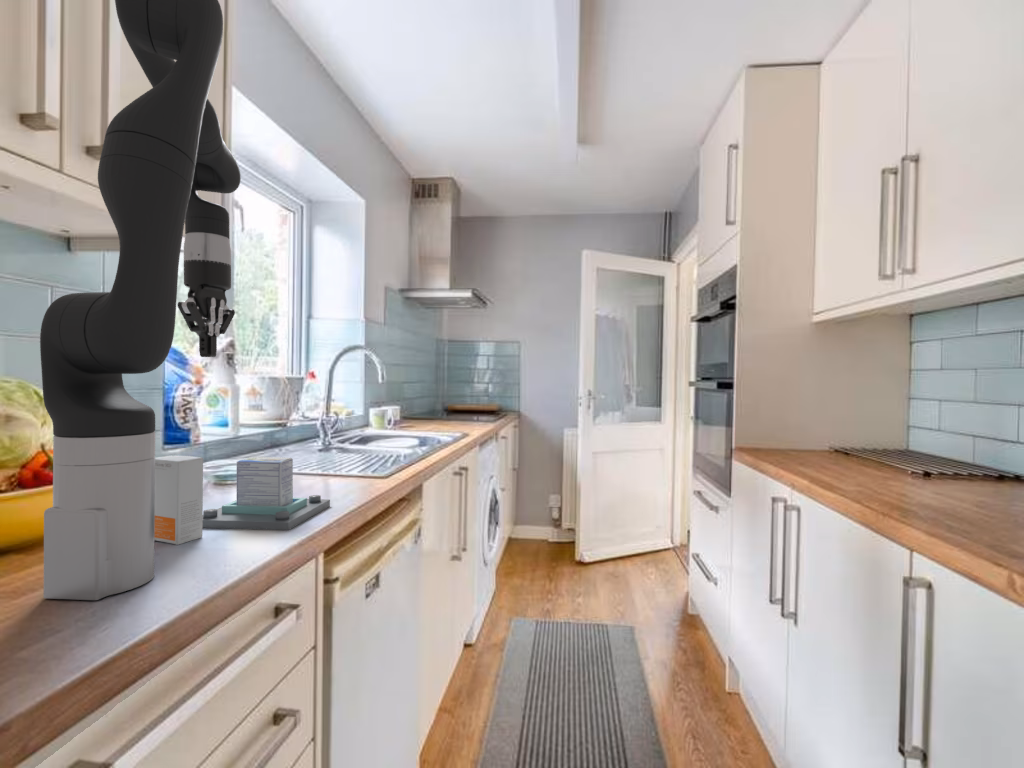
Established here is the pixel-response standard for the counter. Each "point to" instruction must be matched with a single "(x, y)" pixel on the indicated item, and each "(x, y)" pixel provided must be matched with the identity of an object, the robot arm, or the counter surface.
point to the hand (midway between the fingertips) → (208, 356)
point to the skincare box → (178, 498)
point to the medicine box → (265, 481)
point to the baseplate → (264, 514)
